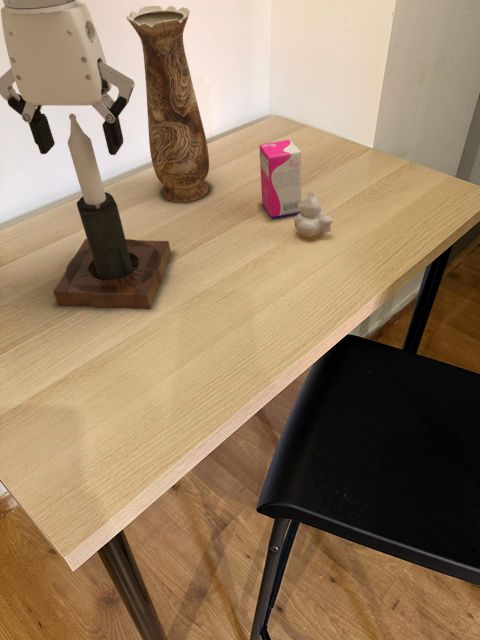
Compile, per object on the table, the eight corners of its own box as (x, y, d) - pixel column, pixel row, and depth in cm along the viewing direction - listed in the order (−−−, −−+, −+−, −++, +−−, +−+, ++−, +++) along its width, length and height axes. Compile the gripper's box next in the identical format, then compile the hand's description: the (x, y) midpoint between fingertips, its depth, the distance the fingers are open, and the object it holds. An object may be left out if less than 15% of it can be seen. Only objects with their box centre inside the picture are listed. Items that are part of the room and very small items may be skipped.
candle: (104, 291, 80) (53, 124, 63) (97, 273, 84) (47, 110, 66) (137, 282, 82) (96, 116, 64) (129, 265, 85) (88, 103, 68)
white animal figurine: (301, 222, 93) (301, 179, 87) (336, 230, 91) (340, 186, 85) (288, 238, 89) (288, 194, 84) (325, 246, 87) (328, 202, 82)
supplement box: (290, 199, 99) (291, 138, 91) (301, 214, 95) (302, 152, 87) (261, 204, 98) (258, 143, 90) (270, 220, 94) (269, 157, 86)
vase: (217, 180, 105) (200, 3, 84) (204, 207, 98) (181, 20, 77) (167, 177, 107) (138, 3, 86) (150, 203, 99) (113, 20, 78)
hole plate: (55, 305, 78) (50, 292, 77) (88, 250, 89) (84, 237, 87) (151, 309, 77) (147, 296, 75) (172, 253, 87) (170, 240, 86)
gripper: (127, -18, 58) (154, 138, 70) (-23, -15, 60) (29, 137, 72) (105, -3, 53) (139, 164, 65) (-58, 0, 55) (5, 162, 67)
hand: (81, 149), depth 69 cm, fingers open, 8 cm apart
